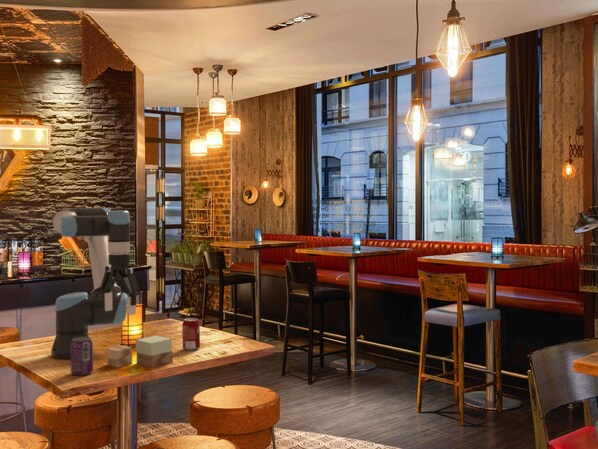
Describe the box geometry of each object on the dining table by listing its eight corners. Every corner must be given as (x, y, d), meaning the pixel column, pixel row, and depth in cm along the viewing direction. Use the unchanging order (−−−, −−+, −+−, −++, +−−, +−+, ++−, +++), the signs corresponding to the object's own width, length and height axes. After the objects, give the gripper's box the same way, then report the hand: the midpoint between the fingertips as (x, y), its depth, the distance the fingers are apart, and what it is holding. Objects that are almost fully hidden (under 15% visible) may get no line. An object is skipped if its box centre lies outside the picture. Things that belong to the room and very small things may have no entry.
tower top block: (151, 355, 219) (151, 343, 219) (135, 352, 225) (135, 339, 224) (171, 351, 226) (171, 338, 226) (156, 347, 232) (155, 335, 231)
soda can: (196, 351, 243) (195, 321, 242) (179, 350, 244) (179, 320, 244) (202, 347, 249) (202, 317, 249) (186, 346, 251) (186, 317, 250)
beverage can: (95, 370, 216) (95, 336, 215) (89, 376, 209) (88, 340, 208) (75, 370, 216) (74, 336, 215) (68, 376, 208) (67, 341, 208)
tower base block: (152, 368, 219) (152, 355, 219) (136, 364, 225) (136, 352, 225) (172, 363, 226) (172, 350, 226) (156, 359, 232) (156, 347, 232)
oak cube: (117, 367, 220) (117, 350, 220) (107, 364, 224) (107, 348, 223) (132, 364, 225) (131, 347, 224) (122, 361, 228) (121, 345, 228)
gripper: (150, 254, 218) (150, 314, 219) (107, 251, 234) (108, 307, 234) (132, 256, 212) (133, 317, 213) (89, 252, 228) (90, 310, 228)
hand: (120, 312), depth 224 cm, fingers open, 13 cm apart
